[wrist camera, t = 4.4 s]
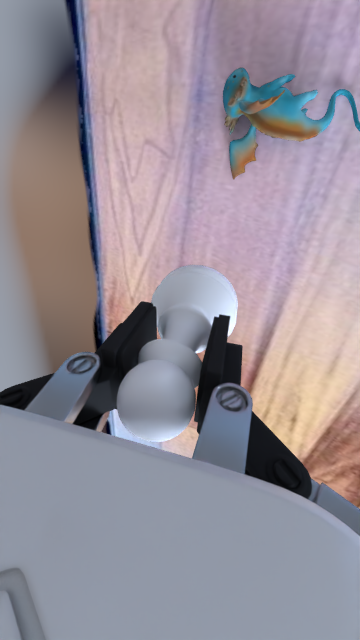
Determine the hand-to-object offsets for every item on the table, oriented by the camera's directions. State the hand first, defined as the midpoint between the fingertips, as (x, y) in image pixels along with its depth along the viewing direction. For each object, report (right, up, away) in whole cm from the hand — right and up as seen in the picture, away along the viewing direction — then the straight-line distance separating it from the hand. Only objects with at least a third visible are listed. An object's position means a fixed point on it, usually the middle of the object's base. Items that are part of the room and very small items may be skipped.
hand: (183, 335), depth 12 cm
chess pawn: (+1, +2, +3) cm, 4 cm away
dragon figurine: (+7, +14, +4) cm, 16 cm away
